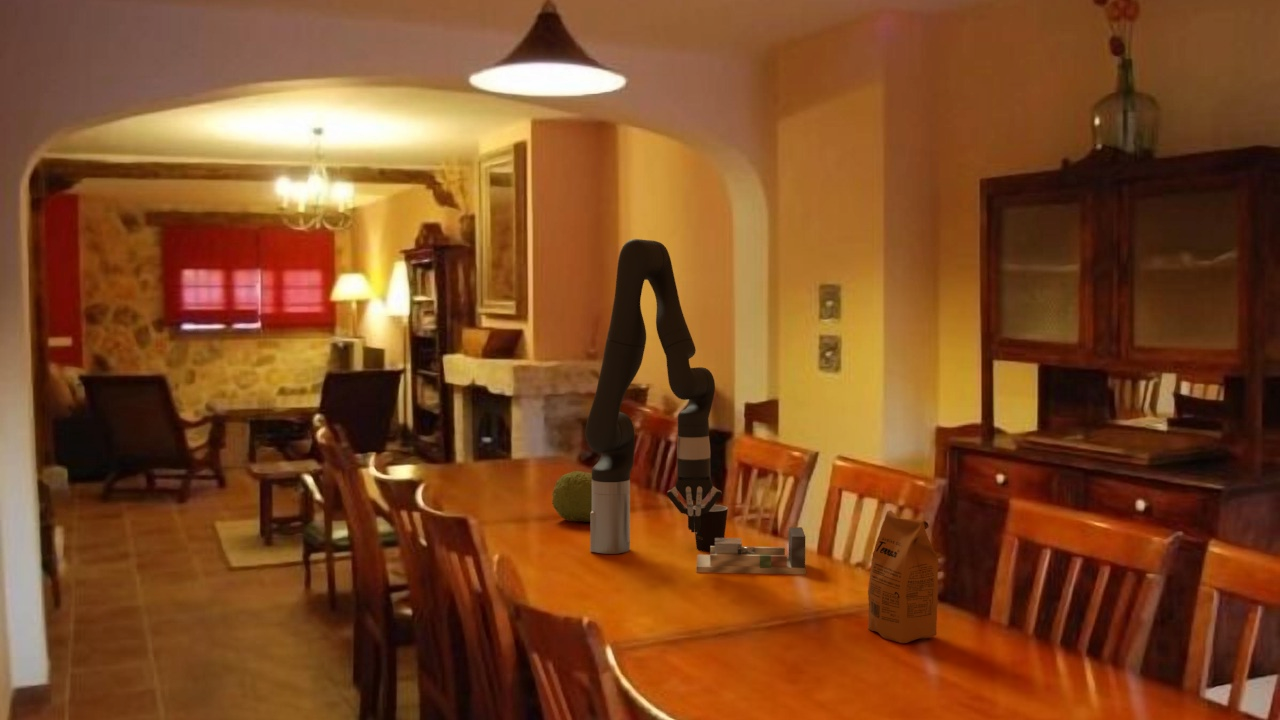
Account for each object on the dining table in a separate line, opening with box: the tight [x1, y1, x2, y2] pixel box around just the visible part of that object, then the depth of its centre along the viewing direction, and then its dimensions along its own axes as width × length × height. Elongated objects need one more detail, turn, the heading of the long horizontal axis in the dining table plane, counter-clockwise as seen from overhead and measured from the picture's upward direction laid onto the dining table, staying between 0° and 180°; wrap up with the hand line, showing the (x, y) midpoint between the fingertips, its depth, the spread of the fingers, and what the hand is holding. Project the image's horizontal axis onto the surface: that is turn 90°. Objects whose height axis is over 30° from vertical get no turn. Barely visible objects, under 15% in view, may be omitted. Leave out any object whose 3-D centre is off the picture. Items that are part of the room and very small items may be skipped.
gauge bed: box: [696, 526, 806, 575], centre depth 259 cm, size 24×12×8 cm, turn 86°
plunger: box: [715, 537, 756, 554], centre depth 257 cm, size 9×9×4 cm
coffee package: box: [867, 510, 939, 644], centre depth 208 cm, size 10×12×22 cm
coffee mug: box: [693, 504, 729, 553], centre depth 278 cm, size 12×9×10 cm
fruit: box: [551, 470, 592, 523], centre depth 309 cm, size 16×14×15 cm
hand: (694, 531), depth 259 cm, fingers closed
